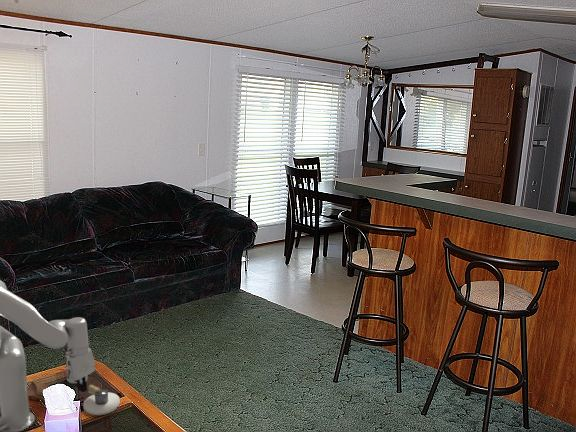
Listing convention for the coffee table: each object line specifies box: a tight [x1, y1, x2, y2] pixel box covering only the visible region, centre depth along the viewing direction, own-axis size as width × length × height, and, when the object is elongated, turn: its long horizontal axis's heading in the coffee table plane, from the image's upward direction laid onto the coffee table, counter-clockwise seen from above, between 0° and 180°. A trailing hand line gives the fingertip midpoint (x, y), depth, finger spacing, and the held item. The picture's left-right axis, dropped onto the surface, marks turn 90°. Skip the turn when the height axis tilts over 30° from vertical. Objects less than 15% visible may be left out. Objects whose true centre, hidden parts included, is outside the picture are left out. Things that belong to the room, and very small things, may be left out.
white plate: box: [83, 391, 121, 416], centre depth 222 cm, size 14×14×2 cm
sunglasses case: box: [27, 381, 51, 402], centre depth 227 cm, size 18×7×7 cm, turn 76°
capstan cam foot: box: [87, 384, 109, 405], centre depth 223 cm, size 10×5×5 cm, turn 58°
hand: (82, 390), depth 219 cm, fingers closed
